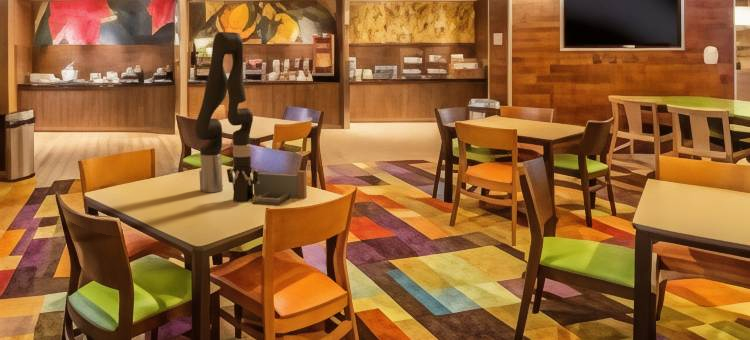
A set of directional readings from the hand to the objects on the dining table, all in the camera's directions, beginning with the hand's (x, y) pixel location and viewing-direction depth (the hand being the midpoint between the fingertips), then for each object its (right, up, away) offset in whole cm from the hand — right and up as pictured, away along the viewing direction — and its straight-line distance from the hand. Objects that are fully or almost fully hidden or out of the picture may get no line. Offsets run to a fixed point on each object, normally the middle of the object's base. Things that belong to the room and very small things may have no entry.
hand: (243, 192), depth 271 cm
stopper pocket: (+13, -4, -1) cm, 13 cm away
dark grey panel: (+15, -2, +6) cm, 16 cm away
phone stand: (0, -3, +1) cm, 3 cm away
